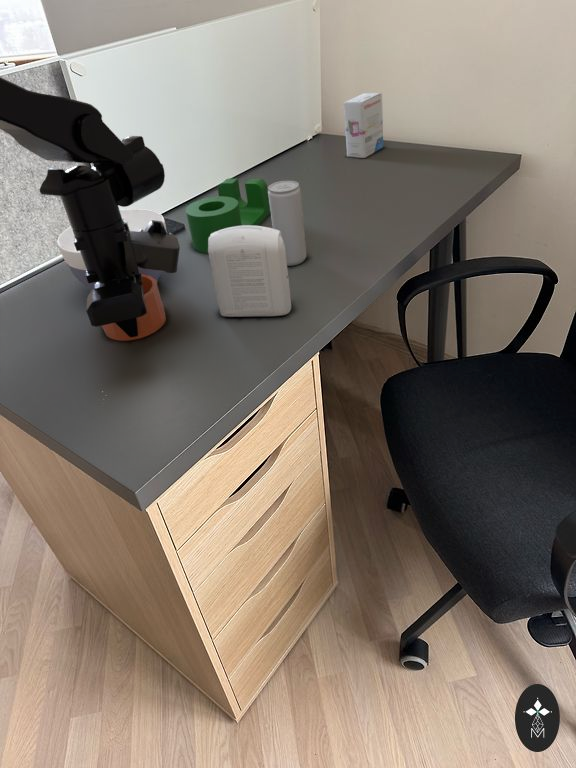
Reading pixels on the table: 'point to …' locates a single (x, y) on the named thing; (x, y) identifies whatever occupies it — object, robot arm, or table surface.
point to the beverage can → (288, 219)
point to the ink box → (364, 124)
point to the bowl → (135, 222)
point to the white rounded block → (250, 271)
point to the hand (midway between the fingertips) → (134, 336)
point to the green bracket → (227, 210)
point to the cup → (146, 322)
